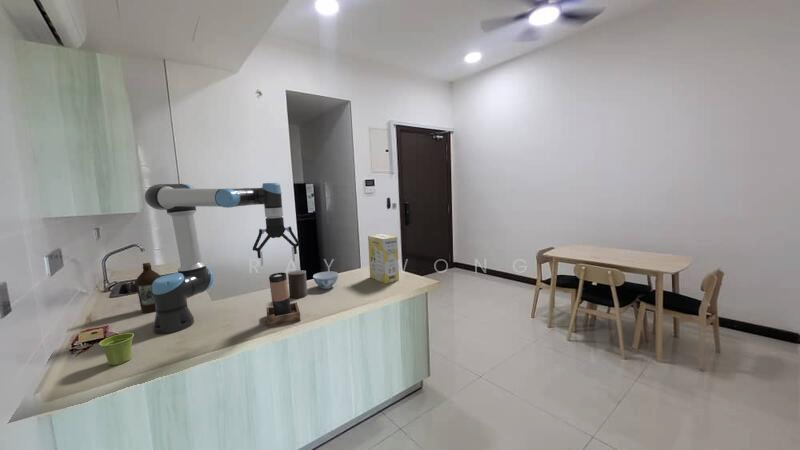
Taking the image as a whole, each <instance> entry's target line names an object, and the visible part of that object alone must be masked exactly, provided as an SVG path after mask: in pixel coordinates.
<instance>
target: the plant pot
mask: <svg viewBox="0 0 800 450" xmlns="http://www.w3.org/2000/svg"><path fill="white" fill-rule="evenodd" d="M134 336H135V334H134V333H132V332H126V333H119V334H115V335H112V336H109V337H106V338H104V339H103V340H100V342H99V343H98V345H99V346H100V347H101V349H103V352H104V354H105V357H106V360H107V362H108V365H109V366H118V365H121V364H124V363H125V362H127V361H130V360H131V359H132V349H133V347H132V346H133V344H132V343H133V341H134V340H133V338H134Z"/></svg>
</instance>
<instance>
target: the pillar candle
mask: <svg viewBox="0 0 800 450" xmlns="http://www.w3.org/2000/svg"><path fill="white" fill-rule="evenodd" d="M287 274H288V275H287V281H288V291H289V298H290V299H295V300H296V299H301V298H305V297H307V296H308V287H307V286H308V284H307V271H306V270H303V269H302V270H299V269H297V270H292V271H289V272H288V273H287Z"/></svg>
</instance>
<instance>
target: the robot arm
mask: <svg viewBox="0 0 800 450" xmlns="http://www.w3.org/2000/svg"><path fill="white" fill-rule="evenodd" d="M281 188H282V187H281V184H280V183H279V182H264V183H262V186H261V187H250V188H249V187H244V188H195V187H194V186H193V185H191V184H186V183H185V184H184V183H169V184H168V183H158V184H153V185H151V186H150V187H149V188H148V189H147V190H146V191H145V193H144V200H145V202H146V203H147V205H148V206H149V207H150V208H153V209H155V210H160V211H161V210H162V211H163V210H164V211H166V214H167V215H169V216H170V217H171V218H172V225H173V231H174V234H175V235H174V236H175V240H176V246H177V251H178V257H179V262H180V266H179V267H178V269H177V272H174V273H169V274H165V275H162V276H161V277H159V278H157V279H156V280H155V281H154V282H153V284H152V287H153V289H152V292H153V296H154V302H155V309H156V311H155V318H154V319H153V320H154V321H153V325H152V330H153V333H154V334H157V335H165V334H172V333H176V332H179V331H182V330H185V329H187V328H189V327H191V326H192V325H193V324H194V323H195V319H194V315H193V313H192V311H191V310H190V309H189V306H188V299H190V298H191V297H193V296H195V295H198V294H202V293H203V292H205V291H208V290H209V289H210V288H211V287H212V286H213V284H214V281H215V278H214V274H213V271H212V270H211V269H210V267H209V268H208V267H207V265H206V264H205V263H204V262H202V256H201V251H200V246H199V240H198V234H197V228H196V227H197V226H196V222H195V217H194V214H195V213H196V212H197V207H212V208H213V207H219V208H220V207H221V208H237V207H245V206H255V205H263V206H264V215H265V216H264V217H265V228H264V229H263V228H259V229H258V235H257V238H256V239H255V241H254V244H253V246H252V251H254V252H255V251H256V252H257V254H256V255H257V259H260V265H261V267H262V266H263V267H264V260H263V259H264V258H263V251H262V249H263V247H264V246H265V245H266V243H268V241H269V240H270V238H272V239H275V238H277V239H278V238H281V237H283V239H284V240H286V241H287V243H289V244H290V245H291V253H292V254H291V255H292V256H291V257H292V262H293V263H295V262H296V258H295V255H297V253H298V252H297V251H298V250H297V248H298V247H299V246H301V243H300V242H299V240H298V238H297V237H296V235H295V234H294V232H293V231H292V230H293V228H292V226H286V227H285V222H284V217H283V216H284V211H283V209H284V208H283V203H282V201H283V200H282V189H281ZM286 231H287V232H289V233H290V235H291V237H292V239H293V240H294V242H293V241H292V240H291V239H290V238H289V237H288V236H287V235H286V234H285V232H286ZM265 233H266V234H267V235H266V237H264V240H263V241H262V242H261V243H260V245H259V242H260V240H261V238H262V235H264V234H265ZM258 245H259V246H258ZM257 246H258V247H257Z"/></svg>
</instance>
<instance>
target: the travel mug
mask: <svg viewBox="0 0 800 450" xmlns="http://www.w3.org/2000/svg"><path fill="white" fill-rule="evenodd" d="M268 279H269V280H268V281H269V288H270V295H271V303H272V307H273V309H274V314H275V316H279V315H284V314H290V313H291V308H290V303H291V300H290V299H291V298H290V296H289V283H288V276H287V273H286V272H277V273H271V274H270V275H269V277H268Z"/></svg>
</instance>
